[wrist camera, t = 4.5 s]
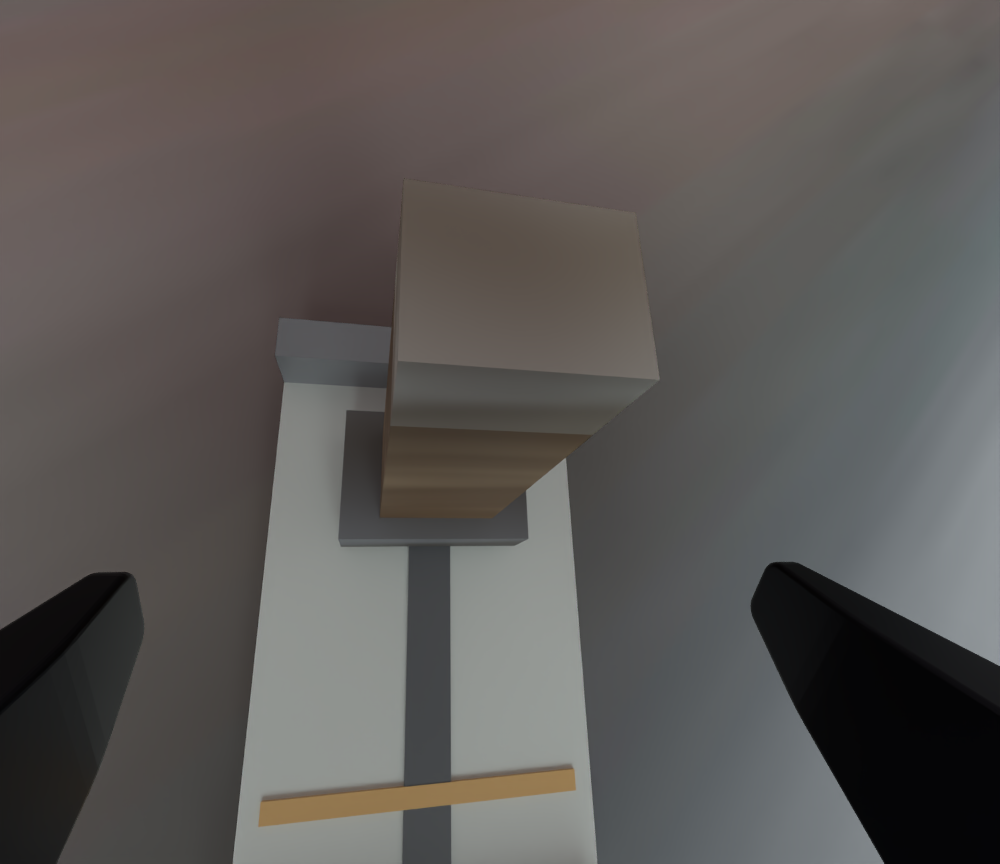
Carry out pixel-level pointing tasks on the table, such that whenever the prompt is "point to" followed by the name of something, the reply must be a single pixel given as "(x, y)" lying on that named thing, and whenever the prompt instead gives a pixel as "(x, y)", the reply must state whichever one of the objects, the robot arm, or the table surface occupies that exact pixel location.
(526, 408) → the fader
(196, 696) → the table surface
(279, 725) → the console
